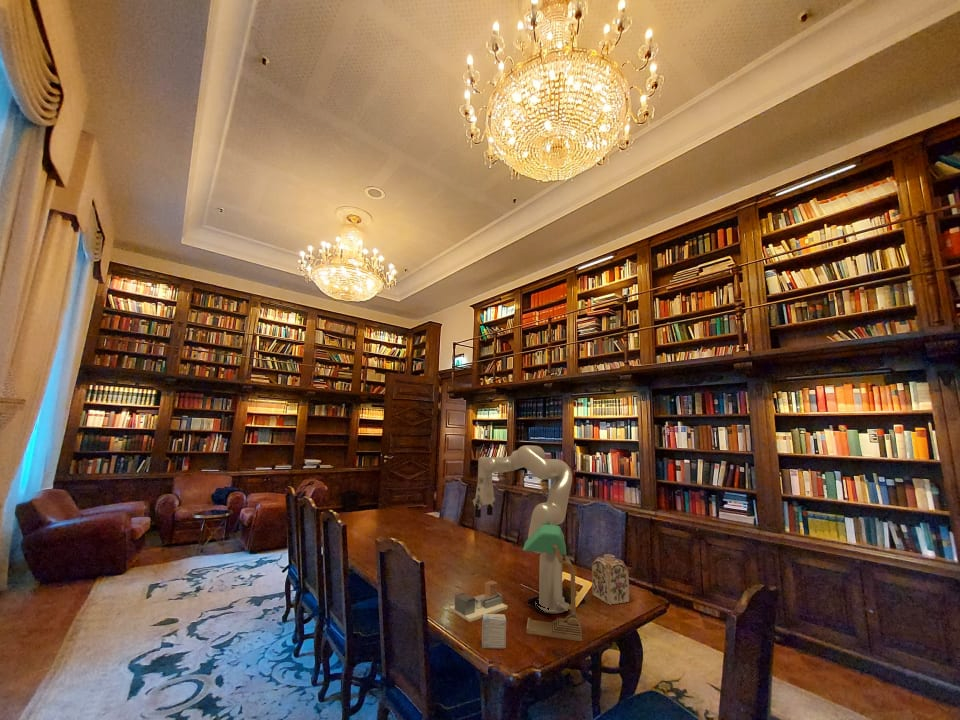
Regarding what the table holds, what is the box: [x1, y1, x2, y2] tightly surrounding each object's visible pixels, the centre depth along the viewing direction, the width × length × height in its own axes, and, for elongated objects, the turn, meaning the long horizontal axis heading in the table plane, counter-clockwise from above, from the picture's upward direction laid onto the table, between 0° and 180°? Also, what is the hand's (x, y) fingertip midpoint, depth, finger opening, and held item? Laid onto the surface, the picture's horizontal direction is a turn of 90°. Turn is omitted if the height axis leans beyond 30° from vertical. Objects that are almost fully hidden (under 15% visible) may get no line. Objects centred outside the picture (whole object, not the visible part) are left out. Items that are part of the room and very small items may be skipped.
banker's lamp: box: [522, 525, 583, 642], centre depth 140 cm, size 16×21×35 cm
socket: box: [454, 592, 475, 616], centre depth 148 cm, size 7×5×5 cm
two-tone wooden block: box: [473, 580, 498, 609], centre depth 155 cm, size 3×11×7 cm, turn 131°
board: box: [449, 592, 508, 623], centre depth 153 cm, size 13×20×4 cm, turn 131°
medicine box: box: [481, 613, 507, 649], centre depth 126 cm, size 8×4×9 cm, turn 92°
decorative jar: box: [591, 553, 630, 606], centre depth 170 cm, size 12×12×18 cm
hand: (483, 516), depth 192 cm, fingers open, 9 cm apart
